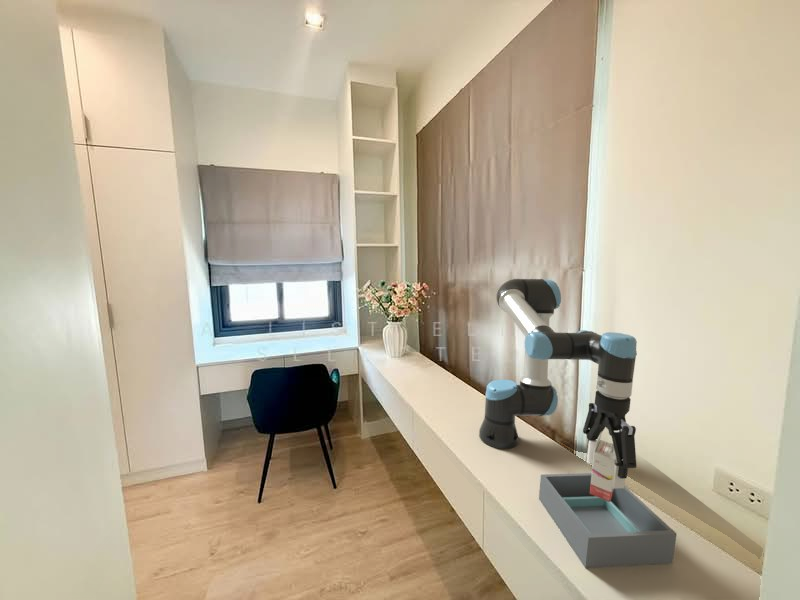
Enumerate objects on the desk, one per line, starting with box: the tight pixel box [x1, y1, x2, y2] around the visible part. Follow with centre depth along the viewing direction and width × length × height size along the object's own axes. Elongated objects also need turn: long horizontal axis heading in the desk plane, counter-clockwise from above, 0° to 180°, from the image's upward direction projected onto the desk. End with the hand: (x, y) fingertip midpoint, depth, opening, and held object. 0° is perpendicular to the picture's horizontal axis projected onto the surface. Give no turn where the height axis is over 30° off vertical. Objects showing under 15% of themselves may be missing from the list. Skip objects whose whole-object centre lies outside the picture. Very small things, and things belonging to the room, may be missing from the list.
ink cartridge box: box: [590, 431, 617, 502], centre depth 85 cm, size 9×5×15 cm, turn 141°
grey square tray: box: [538, 472, 677, 569], centre depth 87 cm, size 22×22×8 cm
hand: (604, 474), depth 86 cm, fingers closed on ink cartridge box, 9 cm apart
